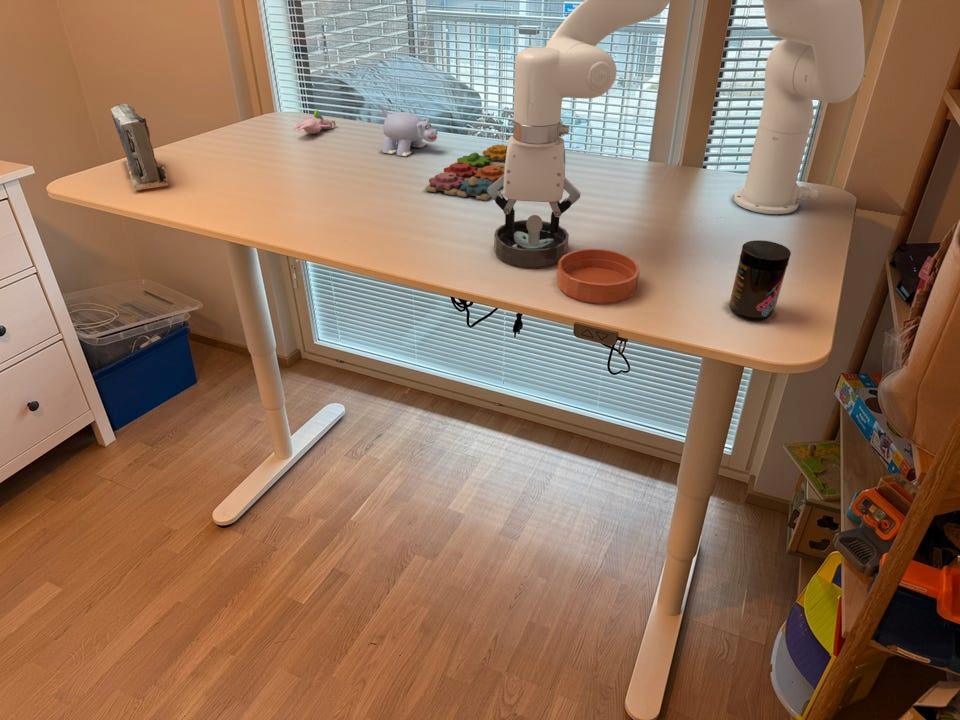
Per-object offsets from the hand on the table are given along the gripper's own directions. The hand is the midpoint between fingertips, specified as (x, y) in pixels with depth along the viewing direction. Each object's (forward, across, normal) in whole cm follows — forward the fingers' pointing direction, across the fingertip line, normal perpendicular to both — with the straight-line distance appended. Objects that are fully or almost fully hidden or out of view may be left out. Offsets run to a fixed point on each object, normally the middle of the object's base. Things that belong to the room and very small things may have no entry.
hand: (531, 233), depth 122 cm
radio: (+4, +90, -27) cm, 94 cm away
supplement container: (+4, -35, +16) cm, 39 cm away
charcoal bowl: (+4, 0, 0) cm, 4 cm away
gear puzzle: (+4, +14, -40) cm, 42 cm away
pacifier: (+3, 0, 0) cm, 3 cm away
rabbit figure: (+4, +63, -64) cm, 90 cm away
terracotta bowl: (+4, -12, +11) cm, 16 cm away
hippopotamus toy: (+4, +35, -54) cm, 65 cm away
